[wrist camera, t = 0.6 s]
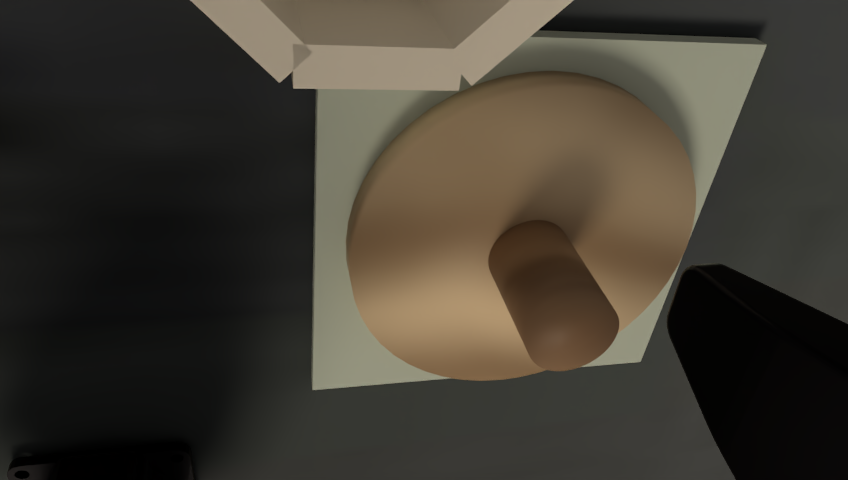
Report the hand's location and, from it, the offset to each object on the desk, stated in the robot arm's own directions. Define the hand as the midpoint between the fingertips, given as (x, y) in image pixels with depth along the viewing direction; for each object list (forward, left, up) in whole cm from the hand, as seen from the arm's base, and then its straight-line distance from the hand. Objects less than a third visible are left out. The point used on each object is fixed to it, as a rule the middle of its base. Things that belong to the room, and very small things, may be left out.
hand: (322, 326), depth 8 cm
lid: (-8, -8, -13) cm, 17 cm away
